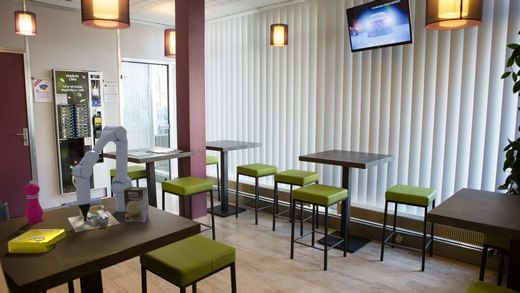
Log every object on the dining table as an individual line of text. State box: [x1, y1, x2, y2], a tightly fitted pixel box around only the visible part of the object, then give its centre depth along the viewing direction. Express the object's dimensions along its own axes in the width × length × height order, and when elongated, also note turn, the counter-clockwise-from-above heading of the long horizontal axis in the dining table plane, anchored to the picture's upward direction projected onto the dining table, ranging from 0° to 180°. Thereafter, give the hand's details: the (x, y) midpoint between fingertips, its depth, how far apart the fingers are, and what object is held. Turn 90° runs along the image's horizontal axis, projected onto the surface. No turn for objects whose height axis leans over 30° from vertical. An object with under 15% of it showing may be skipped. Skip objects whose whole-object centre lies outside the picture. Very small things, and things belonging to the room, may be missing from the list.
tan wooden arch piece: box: [79, 204, 106, 218], centre depth 177 cm, size 10×5×4 cm, turn 125°
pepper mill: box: [24, 180, 44, 226], centre depth 170 cm, size 7×7×20 cm
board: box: [67, 210, 121, 233], centre depth 169 cm, size 18×24×1 cm
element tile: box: [7, 228, 66, 254], centre depth 143 cm, size 15×15×5 cm
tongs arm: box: [83, 212, 100, 226], centre depth 167 cm, size 2×14×4 cm, turn 44°
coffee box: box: [124, 186, 150, 223], centre depth 169 cm, size 9×6×16 cm
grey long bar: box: [97, 210, 109, 228], centre depth 168 cm, size 4×17×4 cm, turn 35°
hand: (85, 220), depth 166 cm, fingers closed
